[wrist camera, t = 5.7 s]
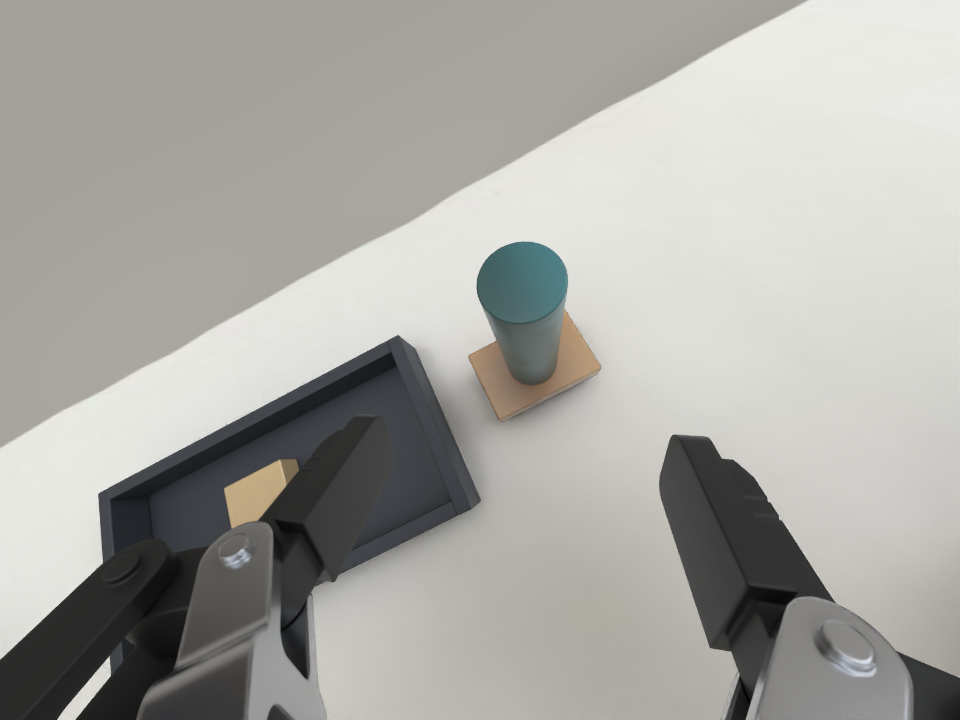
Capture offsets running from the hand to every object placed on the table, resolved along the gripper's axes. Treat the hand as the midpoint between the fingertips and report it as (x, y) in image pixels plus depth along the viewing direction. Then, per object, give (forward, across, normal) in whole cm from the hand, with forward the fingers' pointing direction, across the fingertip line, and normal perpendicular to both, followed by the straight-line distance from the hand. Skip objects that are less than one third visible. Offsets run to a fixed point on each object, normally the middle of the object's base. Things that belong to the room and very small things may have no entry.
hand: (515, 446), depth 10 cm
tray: (+5, +15, +10) cm, 19 cm away
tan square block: (+4, +16, +10) cm, 19 cm away
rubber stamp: (+11, 0, +4) cm, 12 cm away
